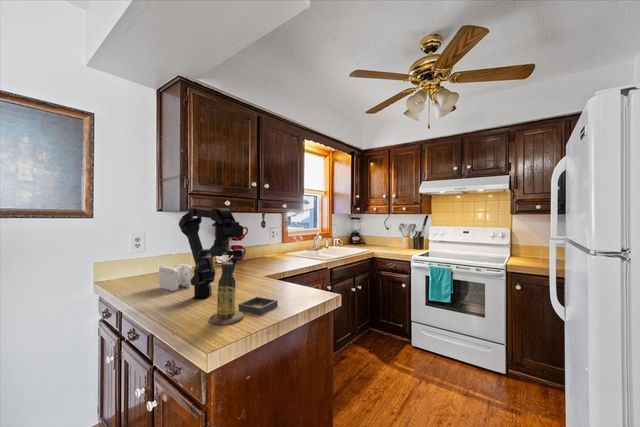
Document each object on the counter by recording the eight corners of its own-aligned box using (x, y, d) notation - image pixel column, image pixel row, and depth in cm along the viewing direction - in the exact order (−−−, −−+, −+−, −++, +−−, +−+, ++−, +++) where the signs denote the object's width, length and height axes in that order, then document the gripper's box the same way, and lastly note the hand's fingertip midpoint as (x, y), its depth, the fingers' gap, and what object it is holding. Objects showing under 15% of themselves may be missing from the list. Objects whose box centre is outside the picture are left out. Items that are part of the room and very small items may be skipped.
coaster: (204, 325, 96) (204, 323, 96) (216, 312, 108) (216, 310, 108) (238, 325, 96) (238, 323, 96) (247, 312, 108) (247, 310, 108)
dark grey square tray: (238, 310, 111) (238, 304, 111) (256, 302, 120) (256, 296, 120) (260, 315, 106) (260, 308, 106) (277, 306, 115) (277, 300, 115)
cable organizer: (193, 287, 143) (193, 265, 143) (173, 293, 134) (173, 269, 134) (177, 283, 151) (177, 262, 151) (157, 288, 142) (157, 266, 142)
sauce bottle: (214, 320, 99) (214, 264, 99) (220, 313, 105) (219, 261, 105) (233, 319, 99) (232, 264, 99) (237, 313, 105) (237, 261, 105)
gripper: (192, 238, 112) (192, 277, 112) (238, 238, 112) (238, 277, 112) (203, 236, 123) (203, 271, 123) (245, 236, 123) (245, 271, 123)
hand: (222, 272), depth 120 cm, fingers open, 9 cm apart
